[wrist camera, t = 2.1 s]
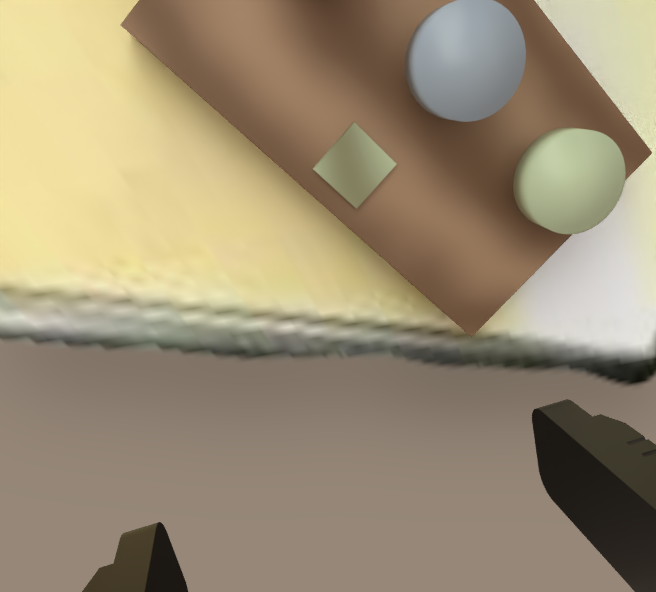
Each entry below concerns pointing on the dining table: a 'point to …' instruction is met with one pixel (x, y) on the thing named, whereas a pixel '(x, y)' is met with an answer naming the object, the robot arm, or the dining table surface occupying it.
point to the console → (389, 129)
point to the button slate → (465, 60)
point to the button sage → (569, 179)
